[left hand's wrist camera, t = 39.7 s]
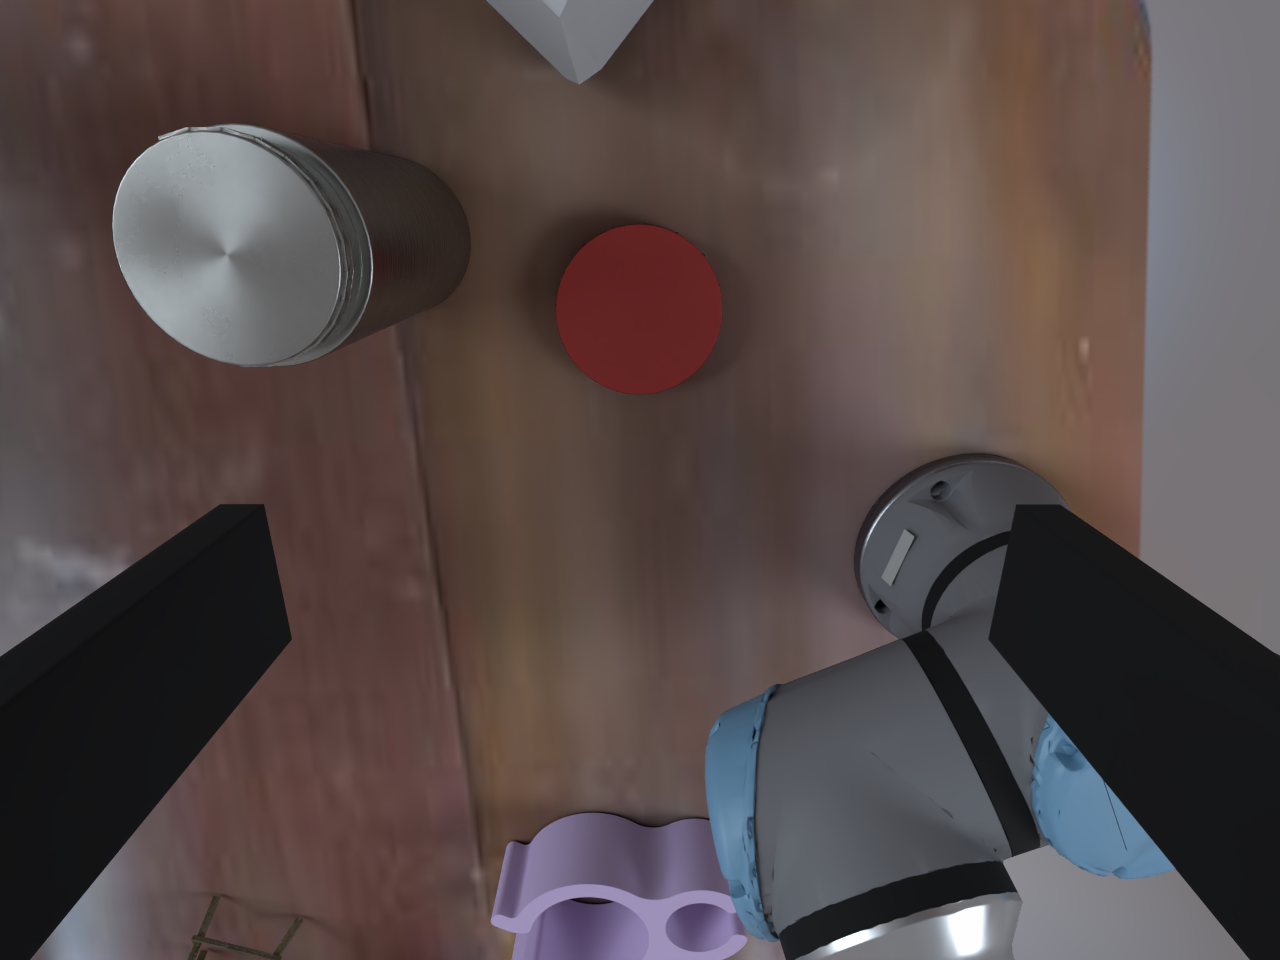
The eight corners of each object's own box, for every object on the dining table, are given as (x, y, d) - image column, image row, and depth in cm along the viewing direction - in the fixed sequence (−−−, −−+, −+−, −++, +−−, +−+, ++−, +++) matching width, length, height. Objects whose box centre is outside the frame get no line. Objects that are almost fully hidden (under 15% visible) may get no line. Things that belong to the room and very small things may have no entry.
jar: (490, 291, 45) (390, 343, 27) (358, 328, 46) (175, 403, 28) (439, 138, 42) (287, 80, 24) (298, 181, 43) (47, 158, 25)
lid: (624, 187, 43) (623, 186, 41) (751, 294, 45) (756, 298, 43) (528, 321, 46) (523, 327, 44) (652, 416, 48) (652, 425, 46)
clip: (726, 795, 60) (736, 865, 54) (741, 899, 65) (752, 975, 58) (498, 823, 61) (482, 895, 55) (529, 923, 66) (517, 1000, 59)
